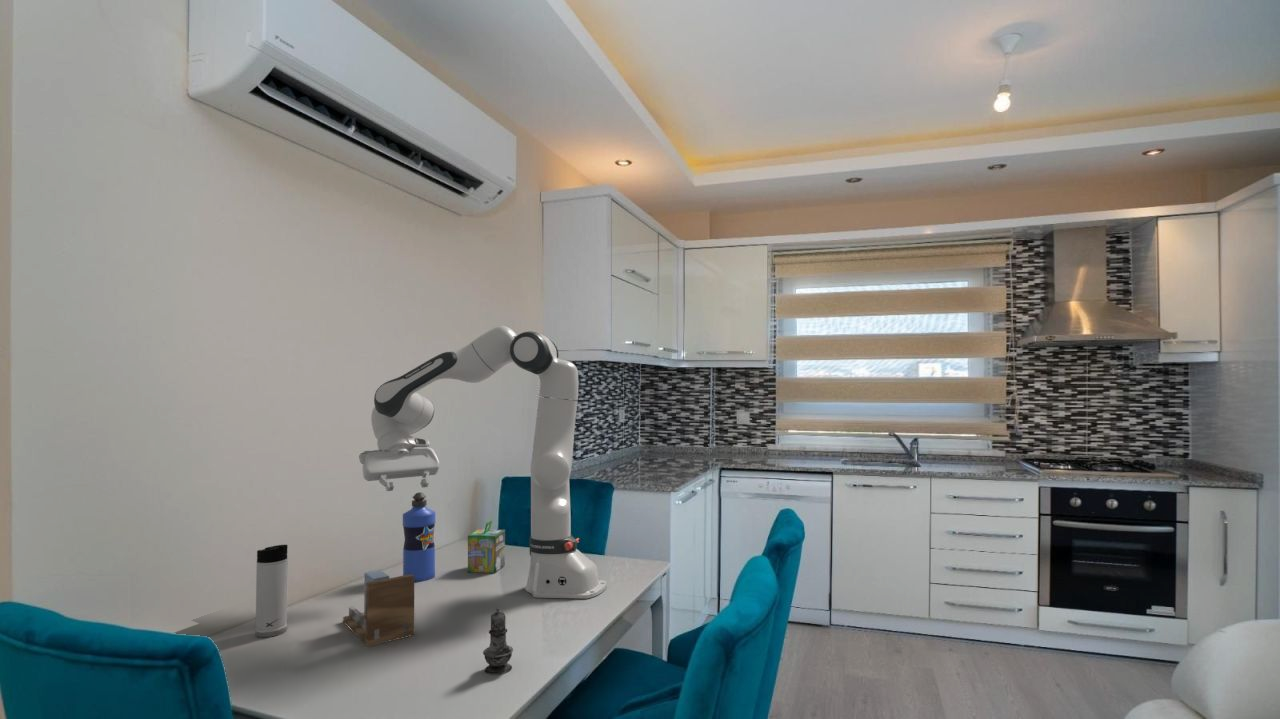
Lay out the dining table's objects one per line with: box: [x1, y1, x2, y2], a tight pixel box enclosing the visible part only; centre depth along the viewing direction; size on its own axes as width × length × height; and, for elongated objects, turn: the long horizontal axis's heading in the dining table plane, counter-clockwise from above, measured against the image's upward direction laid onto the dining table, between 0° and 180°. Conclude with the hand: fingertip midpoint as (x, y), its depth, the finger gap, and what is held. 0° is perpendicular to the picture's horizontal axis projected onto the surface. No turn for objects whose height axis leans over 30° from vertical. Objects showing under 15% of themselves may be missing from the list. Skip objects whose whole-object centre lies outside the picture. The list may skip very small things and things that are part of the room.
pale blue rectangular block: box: [363, 569, 390, 617], centre depth 151 cm, size 7×4×11 cm, turn 40°
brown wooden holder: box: [342, 574, 415, 647], centre depth 150 cm, size 20×10×13 cm, turn 39°
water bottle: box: [402, 492, 436, 583], centre depth 192 cm, size 9×9×25 cm
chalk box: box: [467, 519, 506, 574], centre depth 200 cm, size 9×9×15 cm
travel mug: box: [255, 544, 289, 638], centre depth 149 cm, size 6×7×20 cm
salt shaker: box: [482, 607, 514, 676], centre depth 127 cm, size 6×6×12 cm
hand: (408, 487), depth 174 cm, fingers open, 8 cm apart
